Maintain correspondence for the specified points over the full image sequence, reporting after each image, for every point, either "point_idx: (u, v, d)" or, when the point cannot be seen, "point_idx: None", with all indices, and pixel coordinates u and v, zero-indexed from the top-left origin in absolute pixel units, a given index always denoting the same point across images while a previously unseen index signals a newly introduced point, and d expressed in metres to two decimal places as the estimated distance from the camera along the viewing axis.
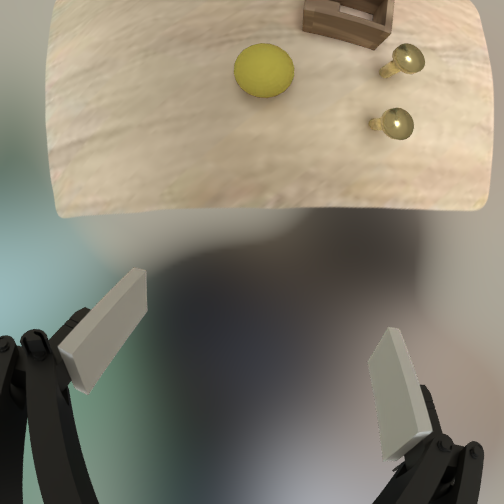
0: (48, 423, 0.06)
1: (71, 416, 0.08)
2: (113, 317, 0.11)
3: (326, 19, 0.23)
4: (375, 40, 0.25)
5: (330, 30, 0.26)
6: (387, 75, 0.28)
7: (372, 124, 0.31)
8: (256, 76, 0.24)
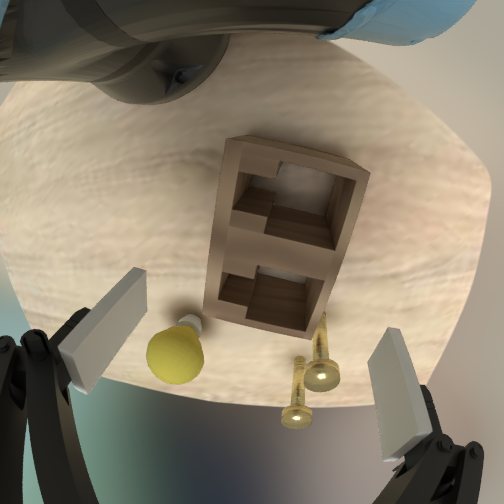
0: (48, 423, 0.06)
1: (71, 416, 0.08)
2: (113, 317, 0.11)
3: None
4: None
5: None
6: None
7: (293, 370, 0.35)
8: (164, 381, 0.28)
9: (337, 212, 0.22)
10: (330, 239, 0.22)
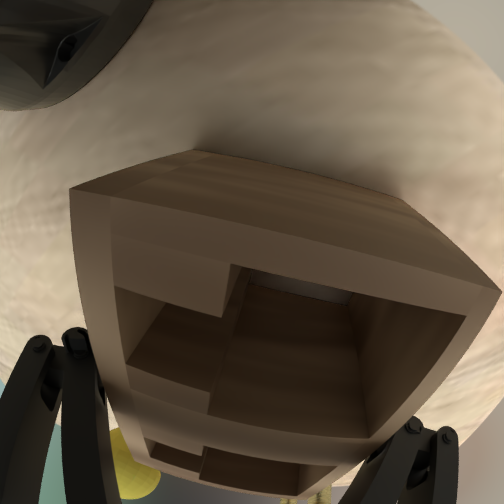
0: (83, 423, 0.06)
1: (106, 416, 0.08)
2: None
3: None
4: None
5: None
6: None
7: None
8: None
9: (381, 336, 0.09)
10: (359, 391, 0.09)
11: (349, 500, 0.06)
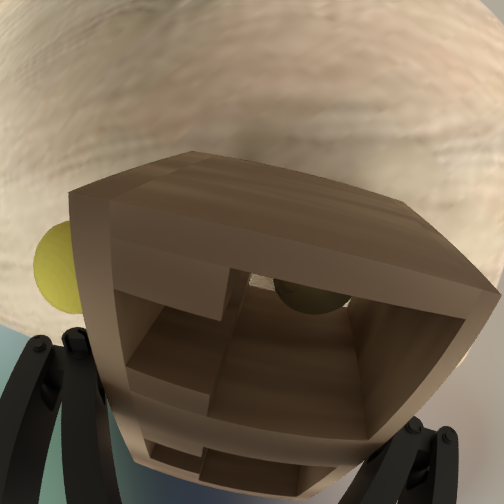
0: (83, 423, 0.06)
1: (106, 416, 0.08)
2: None
3: None
4: None
5: None
6: None
7: None
8: (51, 304, 0.15)
9: (381, 338, 0.09)
10: (358, 392, 0.09)
11: (349, 500, 0.06)
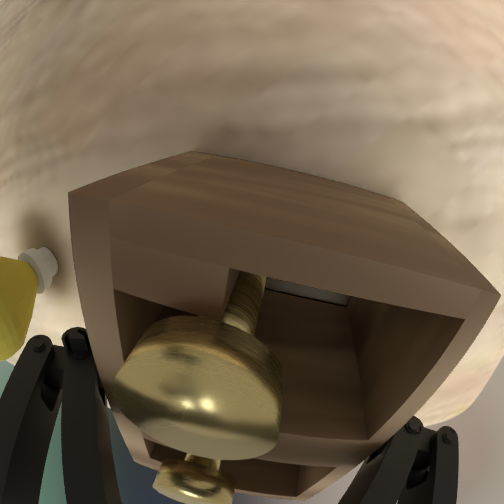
0: (83, 423, 0.06)
1: (106, 416, 0.08)
2: None
3: None
4: None
5: None
6: None
7: None
8: None
9: (380, 338, 0.09)
10: (358, 392, 0.09)
11: (349, 500, 0.06)
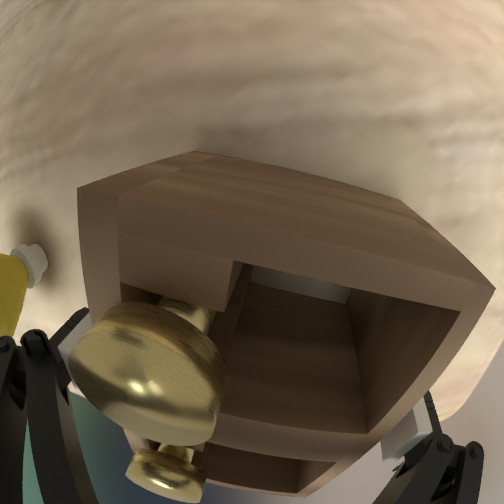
0: (48, 423, 0.06)
1: (71, 416, 0.08)
2: None
3: None
4: None
5: None
6: None
7: None
8: None
9: (379, 333, 0.10)
10: (357, 387, 0.09)
11: None
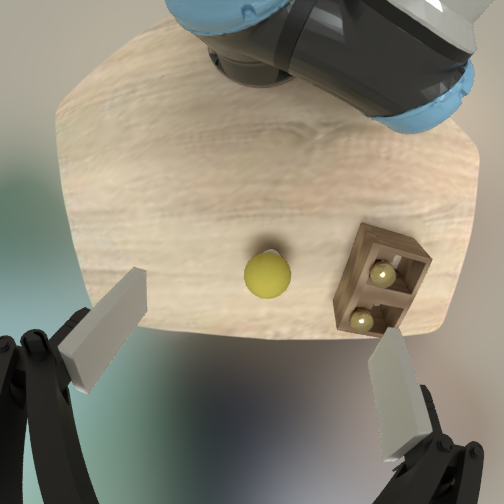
0: (48, 423, 0.06)
1: (71, 416, 0.08)
2: (113, 317, 0.11)
3: None
4: None
5: None
6: None
7: None
8: (261, 294, 0.38)
9: (410, 272, 0.39)
10: (406, 286, 0.39)
11: None
